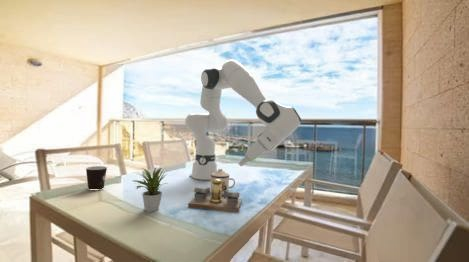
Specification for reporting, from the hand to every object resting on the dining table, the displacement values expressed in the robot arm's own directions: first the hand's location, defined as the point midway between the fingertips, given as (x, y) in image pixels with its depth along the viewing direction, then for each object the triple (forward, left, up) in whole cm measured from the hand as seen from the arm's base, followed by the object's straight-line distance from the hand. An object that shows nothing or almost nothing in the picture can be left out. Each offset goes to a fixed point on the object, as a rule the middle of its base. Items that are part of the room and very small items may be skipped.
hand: (241, 163), depth 102 cm
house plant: (+11, -33, -18) cm, 39 cm away
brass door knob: (0, -10, -17) cm, 19 cm away
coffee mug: (-7, -69, -18) cm, 72 cm away
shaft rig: (0, -10, -18) cm, 21 cm away
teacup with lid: (-18, -11, -18) cm, 28 cm away
